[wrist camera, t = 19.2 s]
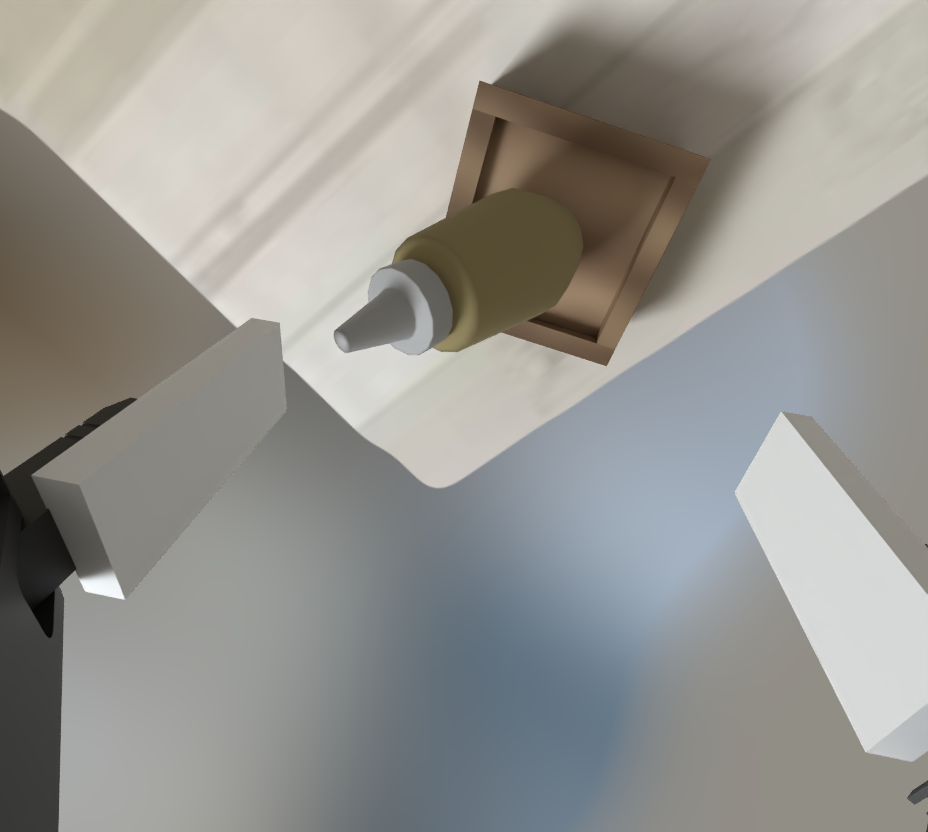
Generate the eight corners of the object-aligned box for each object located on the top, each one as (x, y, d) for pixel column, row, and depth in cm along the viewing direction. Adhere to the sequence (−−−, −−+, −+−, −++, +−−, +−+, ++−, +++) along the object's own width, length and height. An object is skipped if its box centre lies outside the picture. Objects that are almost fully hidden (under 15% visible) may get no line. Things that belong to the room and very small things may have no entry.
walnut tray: (490, 86, 36) (479, 80, 29) (682, 151, 36) (710, 159, 30) (440, 280, 44) (423, 307, 38) (597, 331, 44) (606, 366, 38)
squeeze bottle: (575, 154, 29) (345, 220, 18) (617, 281, 32) (434, 411, 20) (481, 207, 35) (264, 281, 24) (522, 311, 37) (340, 424, 26)
